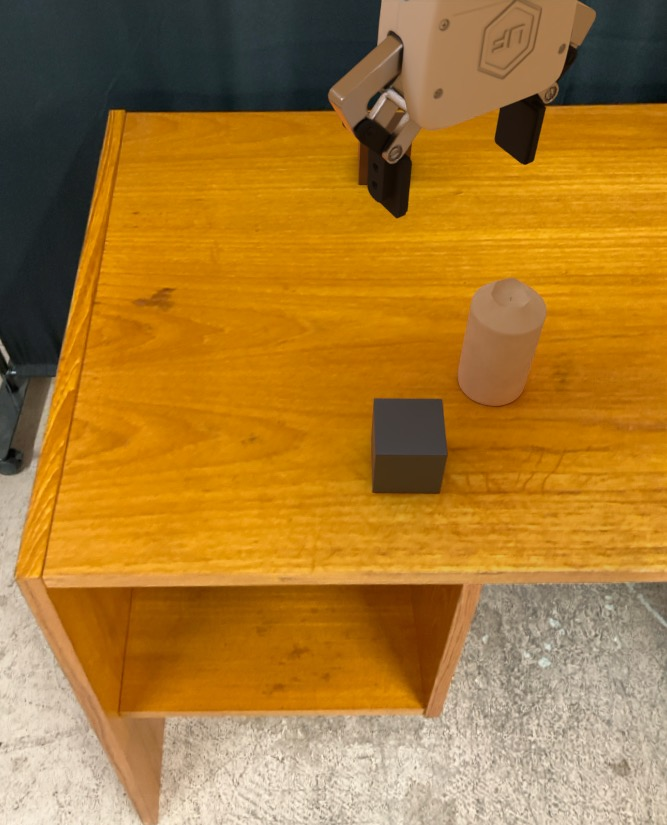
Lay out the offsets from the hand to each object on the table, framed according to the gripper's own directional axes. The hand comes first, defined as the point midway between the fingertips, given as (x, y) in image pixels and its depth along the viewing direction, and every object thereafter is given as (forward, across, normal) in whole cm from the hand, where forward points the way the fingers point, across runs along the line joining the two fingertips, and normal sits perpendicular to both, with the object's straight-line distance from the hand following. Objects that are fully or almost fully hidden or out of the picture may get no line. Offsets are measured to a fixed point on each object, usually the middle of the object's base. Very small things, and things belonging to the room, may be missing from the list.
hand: (452, 178), depth 51 cm
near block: (+20, -6, -6) cm, 22 cm away
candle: (+20, +5, -2) cm, 21 cm away
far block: (+20, +13, +26) cm, 35 cm away
